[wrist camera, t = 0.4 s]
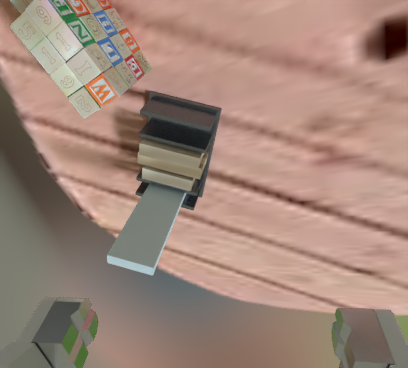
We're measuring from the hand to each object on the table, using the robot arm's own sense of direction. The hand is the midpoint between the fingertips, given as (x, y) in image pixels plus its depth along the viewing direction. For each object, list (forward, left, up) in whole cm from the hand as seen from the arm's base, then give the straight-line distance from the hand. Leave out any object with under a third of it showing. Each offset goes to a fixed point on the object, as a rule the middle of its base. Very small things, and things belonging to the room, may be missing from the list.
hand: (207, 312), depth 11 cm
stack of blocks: (-4, -24, -39) cm, 46 cm away
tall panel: (+21, -13, -38) cm, 46 cm away
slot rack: (+16, -12, -39) cm, 44 cm away
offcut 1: (+14, -12, -38) cm, 42 cm away
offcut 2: (+16, -12, -38) cm, 43 cm away
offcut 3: (+18, -13, -38) cm, 44 cm away
